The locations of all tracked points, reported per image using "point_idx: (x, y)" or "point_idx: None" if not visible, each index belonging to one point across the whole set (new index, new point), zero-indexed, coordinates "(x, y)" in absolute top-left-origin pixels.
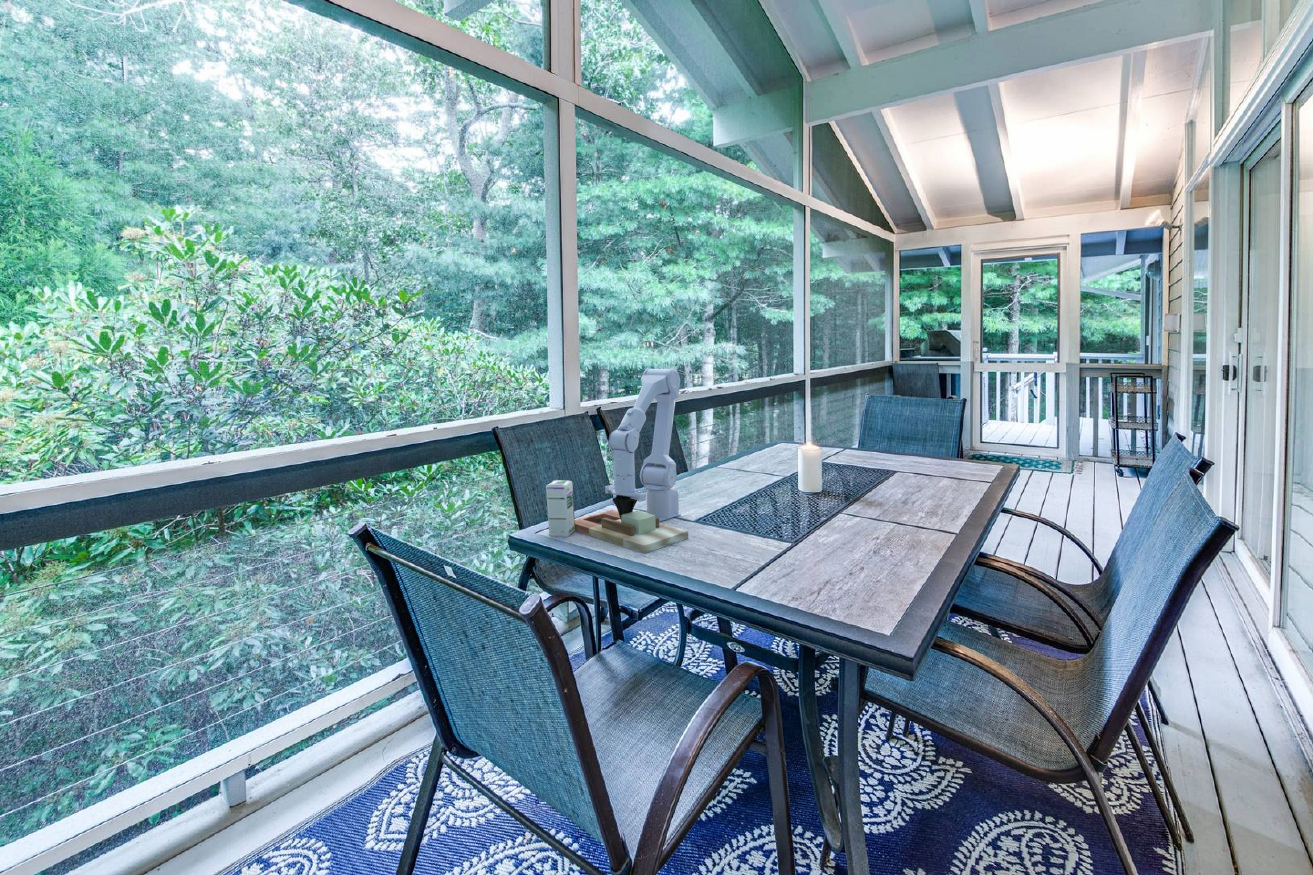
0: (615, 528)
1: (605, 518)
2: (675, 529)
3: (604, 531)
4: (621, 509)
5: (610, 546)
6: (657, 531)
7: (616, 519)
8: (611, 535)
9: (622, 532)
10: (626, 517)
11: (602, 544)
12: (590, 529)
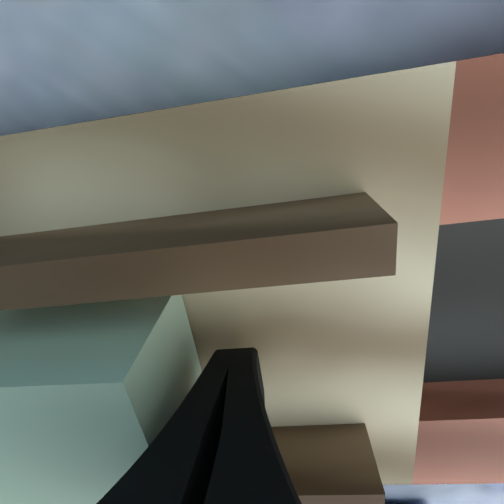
0: (151, 227)
1: (351, 259)
2: None
3: (225, 136)
4: (179, 470)
5: (24, 52)
6: None
7: (474, 401)
8: (78, 123)
9: (66, 231)
10: (36, 376)
11: (106, 20)
12: (422, 66)
